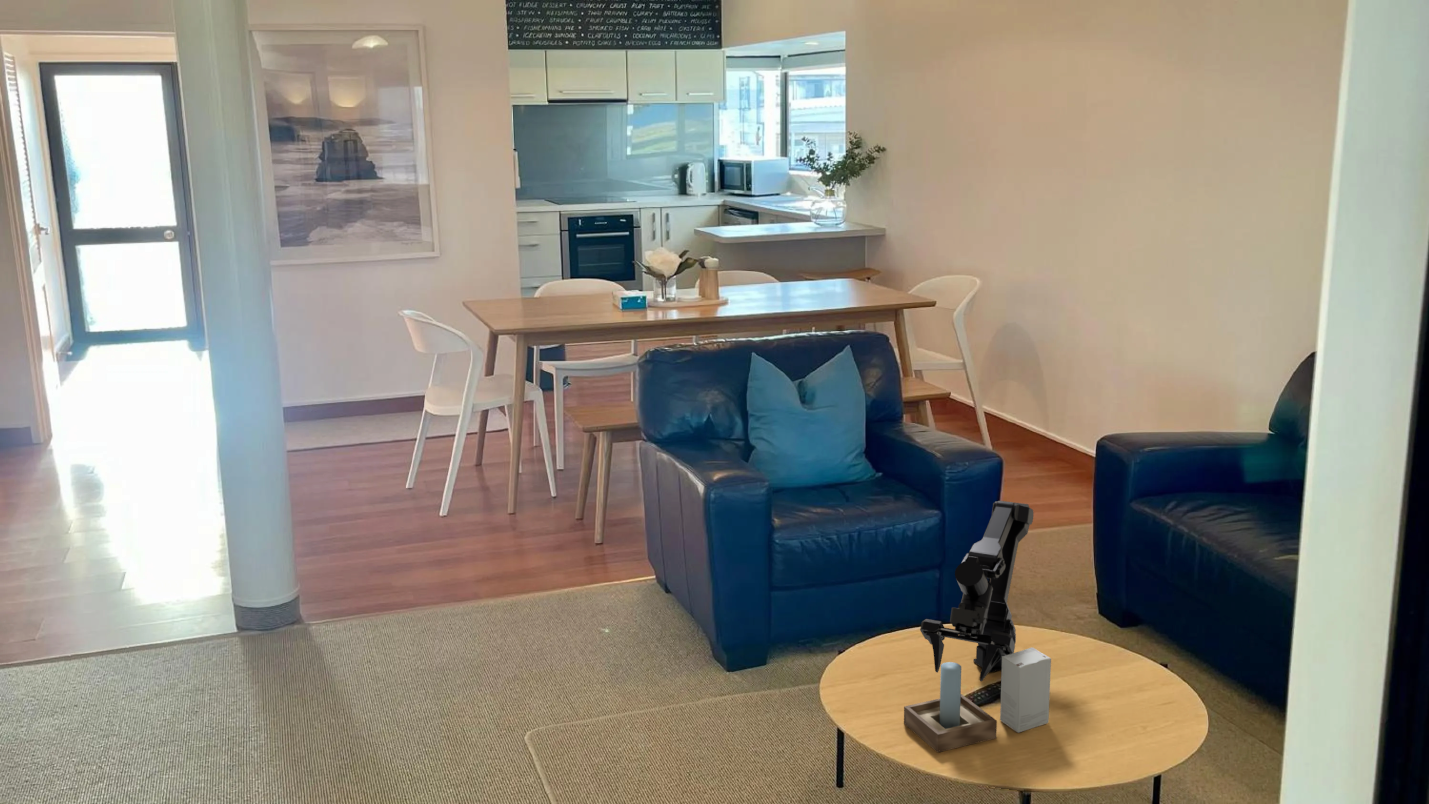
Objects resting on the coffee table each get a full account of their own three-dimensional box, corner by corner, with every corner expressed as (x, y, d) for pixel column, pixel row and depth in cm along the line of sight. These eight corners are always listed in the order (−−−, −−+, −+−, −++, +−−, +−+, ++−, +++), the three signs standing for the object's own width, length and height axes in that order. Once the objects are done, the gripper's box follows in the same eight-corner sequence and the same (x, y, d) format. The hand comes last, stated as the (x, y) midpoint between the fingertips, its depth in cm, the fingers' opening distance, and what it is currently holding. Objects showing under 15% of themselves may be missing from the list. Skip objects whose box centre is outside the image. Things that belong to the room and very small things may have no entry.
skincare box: (1030, 712, 244) (1033, 645, 241) (1050, 724, 239) (1053, 656, 235) (997, 721, 240) (1000, 654, 237) (1017, 734, 235) (1020, 665, 232)
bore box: (960, 710, 245) (960, 693, 244) (996, 738, 234) (996, 720, 233) (903, 723, 240) (904, 706, 239) (937, 752, 229) (938, 734, 228)
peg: (946, 723, 240) (948, 660, 237) (963, 730, 237) (965, 666, 234) (935, 731, 237) (936, 666, 234) (952, 737, 234) (954, 672, 231)
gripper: (923, 582, 244) (905, 653, 237) (1013, 597, 236) (997, 671, 229) (934, 603, 253) (917, 672, 246) (1021, 618, 244) (1006, 690, 237)
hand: (958, 676), depth 239 cm, fingers open, 9 cm apart
